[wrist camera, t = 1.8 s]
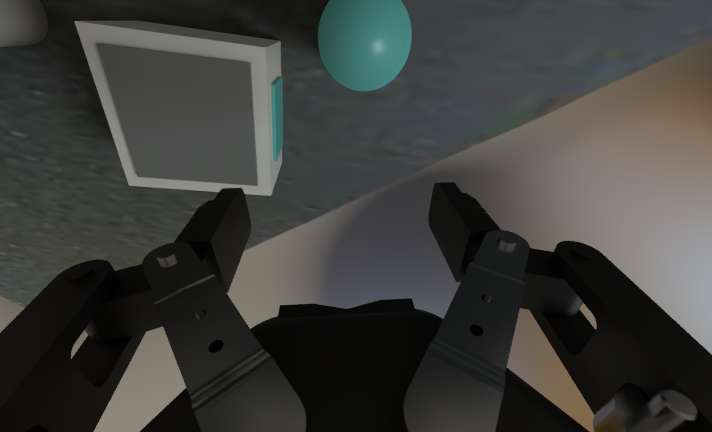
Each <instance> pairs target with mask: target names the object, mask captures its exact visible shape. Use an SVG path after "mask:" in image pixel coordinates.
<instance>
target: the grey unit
mask: <svg viewBox="0 0 712 432" xmlns="http://www.w3.org/2000/svg"><path fill="white" fill-rule="evenodd" d="M74 22H75V25H76V28H77V31H78V34H79V37H80V40H81V43H82V46H83V49H84V52H85V55H86V58H87V61H88V64H89V67H90V70H91V73H92V76H93V79H94V82H95V85H96V88H97V91H98V94H99V97H100V100H101V103H102V106H103V109H104V112H105V114H106V117H107V120H108V123H109V126H110V129H111V132H112V135H113V138H114V141H115V144H116V147H117V150H118V153H119V156H120V159H121V162H122V165H123V168H124V171H125V174H126V177H127V180H128V183H129V186H143V187H157V188H171V189H185V190H199V191H212V192H219V191H220V190H221V189H222V188H242V189H243V191H244V194H254V195H268V196H271V194H272V191H273V188H274V185H275V182H276V179H277V176H278V173H279V170H280V167H281V164H282V146H283V104H282V77H281V41H278V40H271V39H264V38H257V37H250V36H243V35H236V34H229V33H222V32H215V31H208V30H201V29H194V28H187V27H180V26H173V25H165V24H158V23H151V22H144V21H74Z"/></svg>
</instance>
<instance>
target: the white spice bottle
mask: <svg viewBox="0 0 712 432" xmlns="http://www.w3.org/2000/svg"><path fill="white" fill-rule="evenodd" d="M47 31H48V19H47V15H46V12H45V9H44V7H43V5H42V3H41V1H40V0H0V47H9V46H21V45H32V44H36V43H39V42H41V41H42V40H43V39H44V38H45V37H46V34H47Z"/></svg>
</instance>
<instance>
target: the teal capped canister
mask: <svg viewBox="0 0 712 432" xmlns="http://www.w3.org/2000/svg"><path fill="white" fill-rule="evenodd" d="M411 35H412V32H411V24H410V19H409V16H408V13H407V10H406V8H405V6H404V4H403V3H402V1H401V0H330V1H329V2H328V4H327V5H326V7H325V9H324V11H323V13H322V16H321V19H320V23H319V28H318V46H319V52H320V56H321V58H322V61H323V63H324V65H325V67H326V69H327V71H328V72H329V73H330V75H331V76H332V77H333V78H334V79H335V80H336V81H337V82H338V83H340V84H341V85H343V86H345V87H347V88H349V89H352V90H356V91H371V90H375V89H378V88H381V87H383V86H385V85H386V84H388V83H389V82H390V81H392V80H393V79H394V78H395V77H396V76H397V75H398V73H399V72H400V71H401V69H402V68H403V66H404V64H405V62H406V60H407V57H408V55H409V51H410V47H411Z"/></svg>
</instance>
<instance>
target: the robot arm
mask: <svg viewBox="0 0 712 432" xmlns="http://www.w3.org/2000/svg"><path fill="white" fill-rule="evenodd" d="M429 226H430V229H431V231H432V233H433V235H434V237H435V239H436V241H437V243H438V245H439V247H440V249H441V251H442V253H443V255H444V257H445V259H446V262H447V263H448V266H449V268H450V270H451V272H452V274H453V276H454V278H455V280H456V282H461V283H460V285H459V287H458V290H457V292H456V294H455V296H454V298H453V300H452V302H451V304H450V306H449V309H448V311H447V313H446V315H445V317H444V319H442V318H440V317H438V316H436V315H434V314H432V313H429V312H426V311H423V310H419V309H415V308H414V305H413V301H412V299H393V300H379V301H375V302H372V303H368V304H364V305H361V306H357V307H354V308H350V309H342V308H336V307H330V306H324V305H318V304H298V305H280V308H279V314H278V316H277V317H274V318H271V319H269V320H266V321H264V322H262V323H260V324H258V325H256V326H254V327H253V328H251V329H250V328H249V327H248V325H247V324H246V322H245V321H244V319H243V318H242V316H241V315H240V313H239V312H238V310H237V309H236V307H235V306H234V304H233V303H232V301H231V299H230V298H229V297H228V295H227V292H228V291H229V288H230V285H231V283H232V280H233V278H234V275H235V272H236V270H237V267H238V265H239V262H240V259H241V256H242V254H243V251H244V249H245V246H246V243H247V241H248V238H249V236H250V232H251V220H250V216H249V211H248V207H247V203H246V198H245V194H244V191H243V189H242V188H222V189H221V190H220V191H219V193H218V194H217V196H216V197H215V199H214V200H209V201H208V202H206V203H205V204H203V205H202V206H200V207H199V208H198V209H197V211H196V212H195V214H194V215H193V217H192V218H191V219H190V221H189V223H187V225H186V226H185V228H184V229H183V230H182V232H181V233H180V235H179V236H178V238H177V239H176V240H175V242H174V243H170V244H166V245H163V246H160V247H158V248H156V249H154V250H153V251H151V252H150V253H149V254H148V255H147V256H146V257H145V258H144V260H143V262H142V264H141V265H137V266H133V267H129V268H125V269H121V270H116V271H115V270H114V269H113V267H112V265H111V264H110V263H109V262H108V261H106V260H91V261H86V262H83V263H80V264H77V265H75V266H72V267H70V268H68V269H66V270H65V271H63V272H62V273H60V274H59V275H58V276H57V277H55V278H54V279H53V280H52V281H51V282H50V283H49V284H48V285H47V286H46V287H45V288H44V289H43V290H42V291H41V293H40V294H39V295H38V296H37V297H36V298H35V299H34V300H33V301H32V302H31V303H30V304H29V305H28V306H27V307H26V308H25V309H24V310H23V311H22V312H21V313H20V314H19V315H18V316H17V317H16V318H15V319H14V320H13V321H12V322H11V323H10V324H9V325H8V326H7V327H6V328H5V329H4V330H3V331H2V332H1V333H0V432H93V431H94V430H95V427H96V425H97V424H98V422H99V420H100V418H101V416H102V414H103V412H104V410H105V409H106V407H107V405H108V403H109V401H110V399H111V397H112V395H113V393H114V391H115V390H116V388H117V385H118V384H119V382H120V380H121V378H122V376H123V374H124V373H125V371H126V369H127V367H128V365H129V363H130V361H131V359H132V357H133V355H134V353H135V352H136V350H137V348H138V346H139V344H140V342H141V340H142V338H143V336H144V334H145V333H146V331H149V330H153V329H156V328H159V327H162V326H163V327H164V330H165V332H166V335H167V337H168V340H169V343H170V345H171V348H172V351H173V353H174V356H175V359H176V361H177V364H178V366H179V369H180V372H181V374H182V377H183V379H184V382H185V385H186V387H187V388H186V389H185V390H183V391H182V392H181V393H180V394H179V395H178V396H177V397H176V398H175V399H174V400H173V401H172V402H171V403H170V404H169V405H167V406H166V407H165V408H164V409H163V410H162V411H161V412H160V413H159V414H158V415H157V416H156V417H155V418H154V419H153V420H152V421H151V422H150V423H148V424H147V425H146V427H144V428H143V429H142V430H141V431H140V432H589V431H588V430H587V429H585V428H584V427H583V426H582V425H580V424H579V423H578V422H576V421H575V420H573V418H571V417H570V416H569V415H567V414H566V413H565V412H563V411H562V410H561V409H560V408H558V407H557V406H556V405H554V404H553V403H552V402H551V401H549V400H548V399H547V398H545V397H544V396H543V395H542V394H540V393H539V392H538V391H536V390H535V389H534V388H533V387H531V386H530V385H529V384H527V383H526V382H525V381H524V380H522V379H521V378H520V377H518V376H517V375H516V374H515V373H513V372H512V371H511V370H509V369H508V368H507V362H508V358H509V353H510V349H511V344H512V340H513V335H514V331H515V326H516V322H517V318H518V313H519V308H523V309H528V310H530V311H531V313H532V315H533V316H534V318H535V320H536V321H537V323H538V325H539V326H540V328H541V329H542V331H543V333H544V334H545V336H546V337H547V339H548V341H549V342H550V344H551V346H552V347H553V349H554V350H555V352H556V354H557V355H558V357H559V358H560V360H561V362H562V363H563V365H564V367H565V368H566V370H567V371H568V373H569V375H570V376H571V378H572V380H573V381H574V383H575V384H576V386H577V388H578V389H579V391H580V392H581V394H582V395H583V397H584V399H585V401H586V402H587V404H588V405H589V407H590V409H591V410H592V412H593V413H594V415H595V416H594V419H593V428H594V432H712V355H711V354H710V353H709V352H708V351H707V350H706V349H705V348H704V347H703V346H702V345H700V344H699V343H698V342H697V341H696V340H695V339H694V338H693V337H692V336H691V335H690V334H689V333H687V332H686V331H685V330H684V329H683V328H682V327H681V326H680V325H679V324H678V323H677V322H676V321H674V320H673V319H672V318H671V317H670V316H669V315H668V314H667V313H666V312H665V311H664V310H663V309H661V308H660V307H659V306H658V305H657V304H656V303H655V302H654V301H653V300H652V299H651V298H650V297H649V296H647V295H646V294H645V293H644V292H643V291H642V290H641V289H640V288H639V287H638V286H636V285H635V284H634V283H633V282H632V281H631V280H630V279H629V278H628V277H627V276H626V275H625V274H624V273H622V272H621V271H620V270H619V269H618V268H617V267H616V266H615V265H614V264H613V263H612V262H611V261H609V260H608V259H607V258H606V257H605V256H604V255H603V254H602V253H601V252H599V251H598V250H596V249H594V248H593V247H591V246H588V245H586V244H583V243H580V242H575V241H563V242H560V243H558V244H557V246H556V248H555V250H554V252H549V251H544V250H537V249H532V248H530V247H529V244H528V242H527V241H526V240H525V239H523V238H522V237H521V236H519V235H517V234H515V233H512V232H509V231H504V230H501V229H500V228H499V227H498V226H497V224H496V223H495V222H494V221H493V220H492V218H491V217H490V216H489V215H488V214H486V211H485V210H484V209H483V208H482V206H481V205H480V204H479V203H478V201H477V200H476V199H475V198H473V197H471V196H470V195H468V194H466V193H462V192H461V191H460V189H459V188H458V187H457V186H456V184H455V183H454V182H450V183H449V182H447V183H435V185H434V188H433V193H432V198H431V204H430V210H429ZM583 303H584V304H585V305H586V306H587V308H588V309H589V310H590V311H591V312H592V314H593V315H594V317H595V319H596V323H597V329H596V330H595V329H594V327H593V326H592V325H591V324H590V322H589V321H588V320H587V319H586V317H585V316H584V315H583V313H582V312H581V311H580V310H579V308H580V307H581V305H582V304H583ZM84 330H85V331H86V332H87V334H88V336H87V338H86V339H85V341H84V342H83V343H82V345H81V346H80V348H79V349H78V351H77V352H76V353H75V355H74V356H73V358H72V359H71V350H72V347H73V345H74V343H75V342H76V340H77V339H78V338H79V336H80V335H81V334H82V332H83V331H84Z"/></svg>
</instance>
